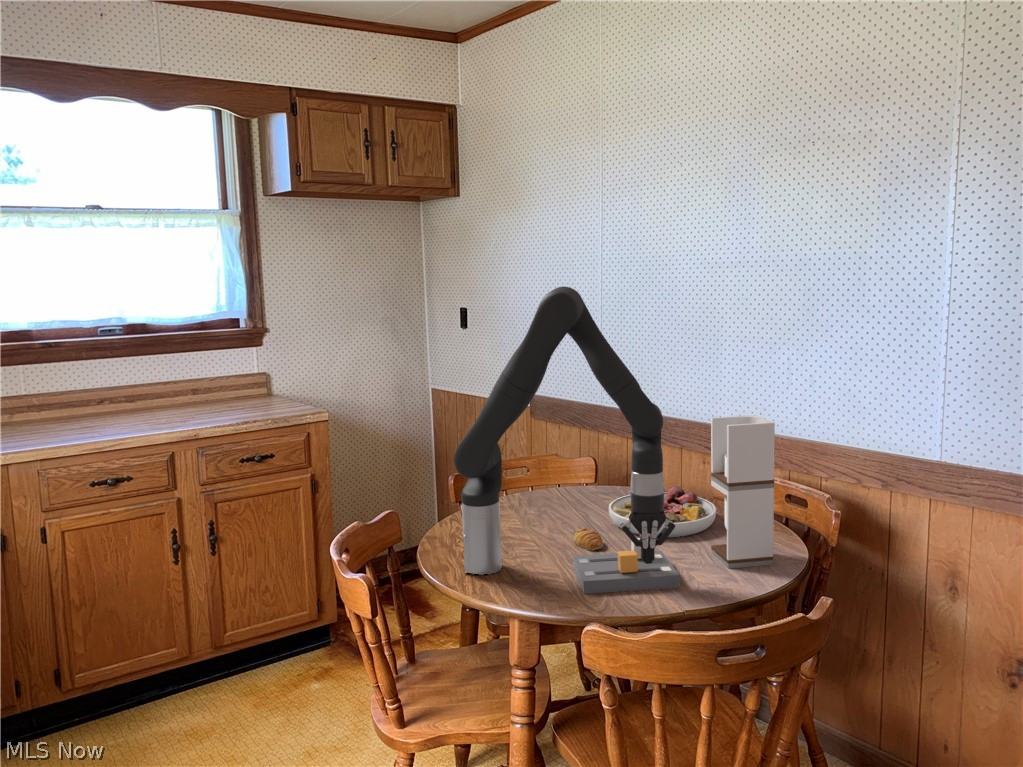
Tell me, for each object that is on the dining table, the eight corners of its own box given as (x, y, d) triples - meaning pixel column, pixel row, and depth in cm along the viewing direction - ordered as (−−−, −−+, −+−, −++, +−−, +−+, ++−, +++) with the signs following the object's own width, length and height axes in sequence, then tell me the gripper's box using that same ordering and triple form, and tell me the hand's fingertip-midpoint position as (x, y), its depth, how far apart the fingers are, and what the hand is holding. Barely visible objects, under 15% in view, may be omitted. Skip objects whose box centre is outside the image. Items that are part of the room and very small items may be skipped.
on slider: (634, 558, 189) (633, 542, 188) (631, 554, 192) (631, 538, 191) (650, 557, 189) (650, 541, 189) (647, 553, 192) (647, 537, 192)
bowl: (697, 548, 205) (697, 518, 204) (592, 532, 220) (591, 505, 219) (728, 515, 231) (728, 489, 230) (631, 503, 246) (631, 478, 245)
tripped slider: (620, 572, 181) (620, 556, 180) (617, 567, 184) (617, 551, 183) (637, 571, 181) (637, 555, 180) (634, 566, 184) (634, 550, 183)
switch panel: (583, 593, 178) (583, 580, 178) (573, 567, 194) (572, 555, 194) (679, 587, 180) (679, 574, 179) (661, 562, 195) (661, 550, 195)
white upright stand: (753, 549, 202) (755, 414, 197) (773, 564, 191) (774, 422, 186) (711, 553, 200) (711, 417, 195) (728, 568, 190) (728, 425, 185)
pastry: (610, 549, 206) (609, 535, 205) (587, 554, 203) (586, 540, 203) (592, 538, 215) (592, 525, 214) (570, 543, 212) (570, 529, 212)
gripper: (622, 496, 176) (623, 570, 178) (680, 493, 177) (680, 566, 179) (615, 487, 183) (616, 558, 186) (671, 484, 184) (671, 555, 187)
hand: (647, 562), depth 183 cm, fingers closed
